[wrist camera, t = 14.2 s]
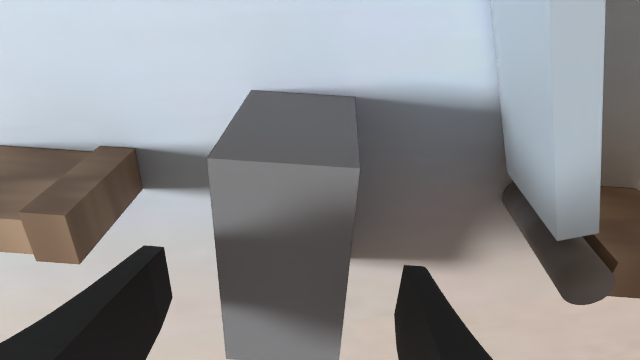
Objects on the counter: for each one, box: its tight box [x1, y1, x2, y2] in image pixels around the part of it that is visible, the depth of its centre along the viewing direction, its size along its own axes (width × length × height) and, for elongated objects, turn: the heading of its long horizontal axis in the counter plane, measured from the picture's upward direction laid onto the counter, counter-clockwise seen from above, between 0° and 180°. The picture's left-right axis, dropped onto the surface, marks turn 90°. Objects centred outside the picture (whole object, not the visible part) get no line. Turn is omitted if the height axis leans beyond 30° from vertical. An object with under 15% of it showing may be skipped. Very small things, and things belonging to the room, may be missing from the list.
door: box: [491, 0, 606, 241], centre depth 12 cm, size 12×2×4 cm, turn 17°
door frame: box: [0, 146, 640, 305], centre depth 15 cm, size 28×2×5 cm, turn 87°
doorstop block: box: [207, 90, 360, 360], centre depth 15 cm, size 4×8×6 cm, turn 177°
